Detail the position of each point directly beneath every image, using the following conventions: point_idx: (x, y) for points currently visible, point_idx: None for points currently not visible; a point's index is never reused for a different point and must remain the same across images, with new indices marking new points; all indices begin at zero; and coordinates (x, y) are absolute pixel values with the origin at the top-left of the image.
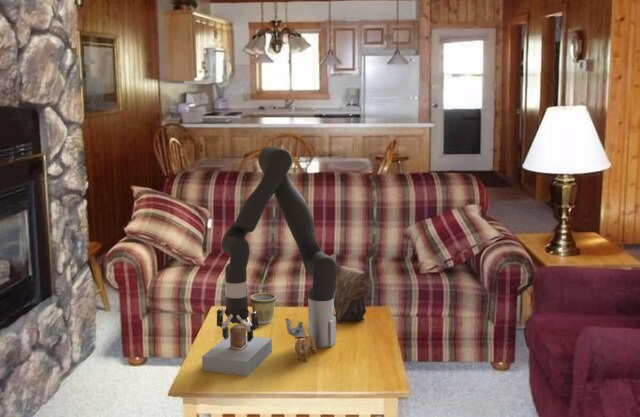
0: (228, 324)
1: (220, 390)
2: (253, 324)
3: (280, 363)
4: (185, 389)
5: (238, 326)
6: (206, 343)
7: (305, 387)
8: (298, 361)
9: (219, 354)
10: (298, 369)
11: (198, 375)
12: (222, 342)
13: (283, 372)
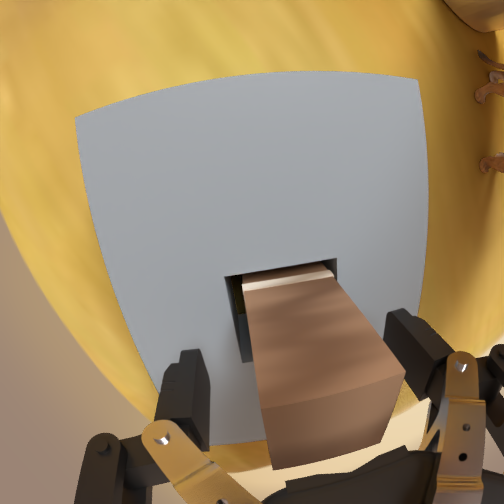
0: (197, 449)
1: None
2: (496, 423)
3: (447, 212)
4: (239, 468)
5: (327, 416)
6: (5, 156)
7: (500, 326)
8: (485, 171)
9: (246, 419)
10: (493, 237)
11: None
12: (135, 293)
13: (465, 281)
